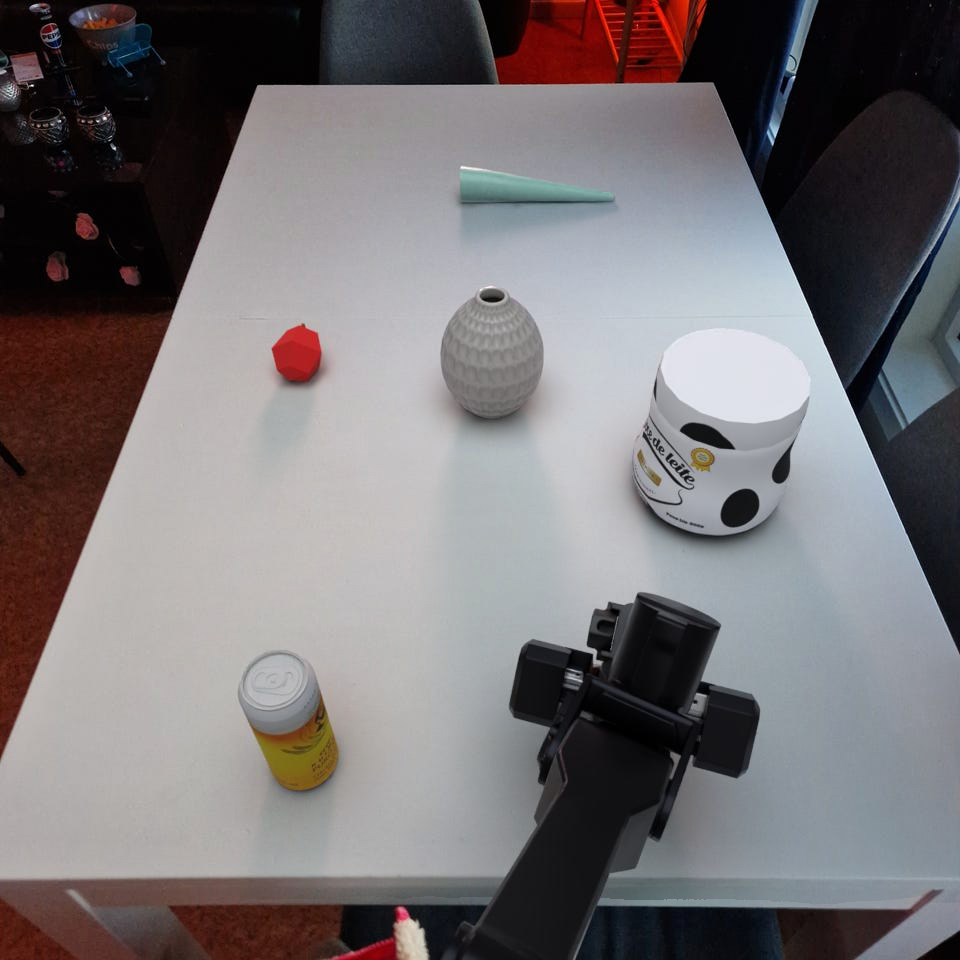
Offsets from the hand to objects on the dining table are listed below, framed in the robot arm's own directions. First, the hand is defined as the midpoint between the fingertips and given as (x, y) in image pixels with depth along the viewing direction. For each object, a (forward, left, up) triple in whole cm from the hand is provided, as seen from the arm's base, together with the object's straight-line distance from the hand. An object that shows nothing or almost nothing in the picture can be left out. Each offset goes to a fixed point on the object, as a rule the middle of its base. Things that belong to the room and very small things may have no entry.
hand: (633, 679), depth 73 cm
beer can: (-5, +29, -7) cm, 31 cm away
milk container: (+29, -12, -7) cm, 32 cm away
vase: (+44, +13, -7) cm, 46 cm away
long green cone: (+97, +6, -7) cm, 97 cm away
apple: (+50, +39, -7) cm, 64 cm away
